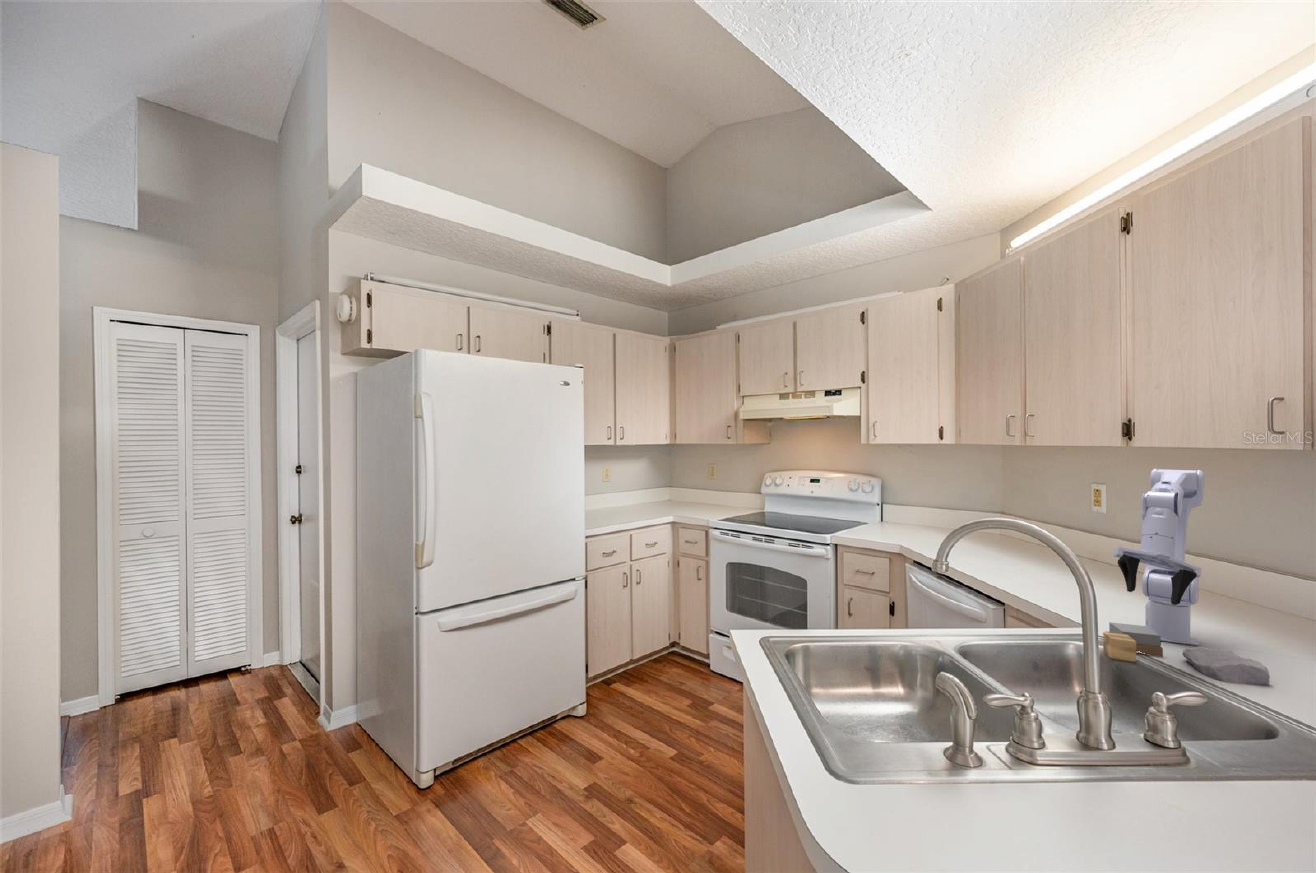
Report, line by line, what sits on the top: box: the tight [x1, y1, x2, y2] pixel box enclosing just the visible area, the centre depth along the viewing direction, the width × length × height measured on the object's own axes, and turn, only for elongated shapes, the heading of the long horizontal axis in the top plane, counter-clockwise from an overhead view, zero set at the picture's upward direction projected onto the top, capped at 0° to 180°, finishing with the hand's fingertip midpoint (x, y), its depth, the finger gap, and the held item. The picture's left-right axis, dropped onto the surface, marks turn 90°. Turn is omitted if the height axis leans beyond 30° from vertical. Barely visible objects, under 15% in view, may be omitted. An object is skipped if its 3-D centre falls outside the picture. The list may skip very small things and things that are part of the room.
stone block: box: [1182, 646, 1271, 686], centre depth 113 cm, size 12×5×10 cm
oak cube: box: [1102, 631, 1137, 662], centre depth 121 cm, size 4×4×4 cm
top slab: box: [1108, 622, 1162, 647], centre depth 126 cm, size 7×7×2 cm
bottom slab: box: [1105, 631, 1164, 657], centre depth 126 cm, size 8×8×2 cm
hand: (1152, 597), depth 117 cm, fingers open, 7 cm apart
